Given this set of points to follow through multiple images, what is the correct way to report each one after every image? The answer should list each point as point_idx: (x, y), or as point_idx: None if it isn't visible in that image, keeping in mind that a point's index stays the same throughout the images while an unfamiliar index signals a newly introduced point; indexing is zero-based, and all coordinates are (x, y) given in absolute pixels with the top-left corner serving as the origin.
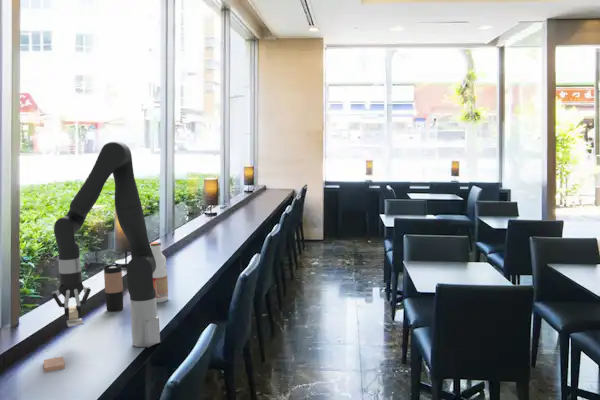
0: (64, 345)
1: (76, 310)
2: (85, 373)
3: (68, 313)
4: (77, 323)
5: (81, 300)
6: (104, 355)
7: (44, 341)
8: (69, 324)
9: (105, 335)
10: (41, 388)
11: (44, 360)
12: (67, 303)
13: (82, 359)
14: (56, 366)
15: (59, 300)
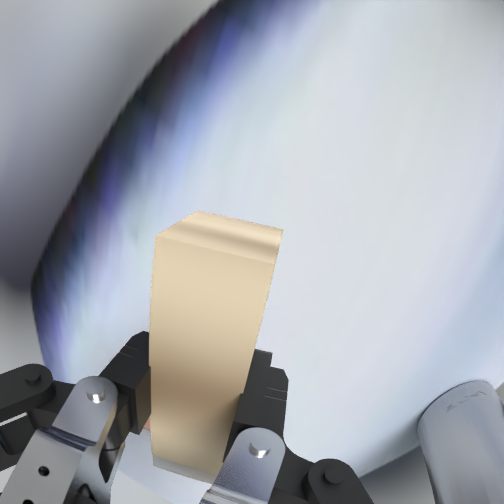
0: (214, 213)
1: (219, 449)
2: None
3: None
4: (203, 480)
5: (294, 501)
6: (305, 431)
7: (152, 77)
8: (161, 463)
9: (437, 218)
10: (120, 459)
11: None
12: (105, 471)
13: None
14: (145, 427)
15: (13, 463)
